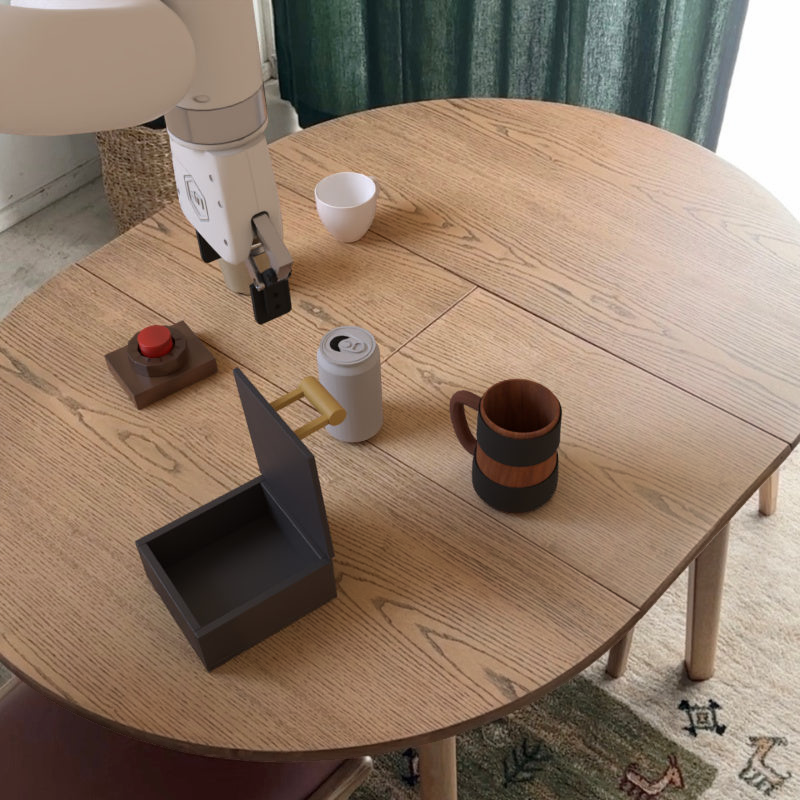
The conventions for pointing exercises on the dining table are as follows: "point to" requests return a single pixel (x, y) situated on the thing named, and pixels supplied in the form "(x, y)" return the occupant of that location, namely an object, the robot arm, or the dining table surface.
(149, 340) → the alarm button
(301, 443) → the box lid
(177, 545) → the box case
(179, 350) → the block
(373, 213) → the cup
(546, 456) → the mug
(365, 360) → the beverage can
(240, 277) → the flower pot
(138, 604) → the dining table surface
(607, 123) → the dining table surface
